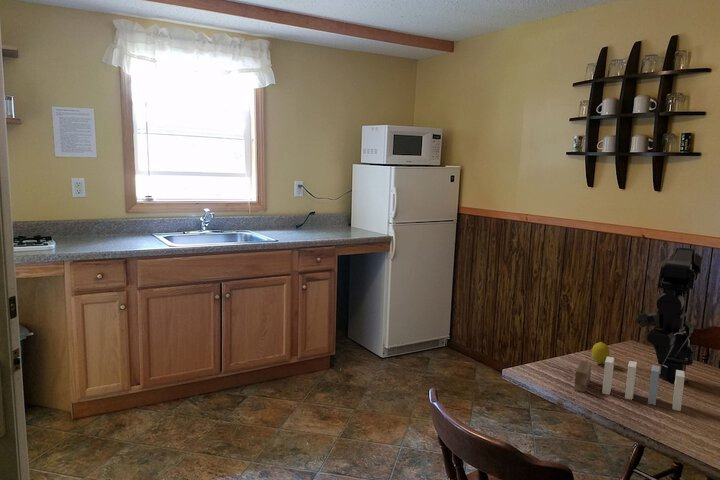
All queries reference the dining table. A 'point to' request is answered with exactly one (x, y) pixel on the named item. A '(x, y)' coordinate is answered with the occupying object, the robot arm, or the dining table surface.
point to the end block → (582, 376)
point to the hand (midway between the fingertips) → (666, 360)
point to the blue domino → (653, 384)
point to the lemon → (600, 352)
